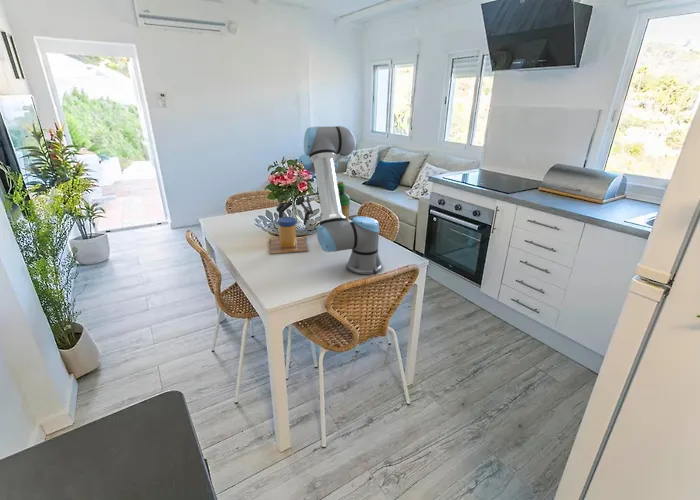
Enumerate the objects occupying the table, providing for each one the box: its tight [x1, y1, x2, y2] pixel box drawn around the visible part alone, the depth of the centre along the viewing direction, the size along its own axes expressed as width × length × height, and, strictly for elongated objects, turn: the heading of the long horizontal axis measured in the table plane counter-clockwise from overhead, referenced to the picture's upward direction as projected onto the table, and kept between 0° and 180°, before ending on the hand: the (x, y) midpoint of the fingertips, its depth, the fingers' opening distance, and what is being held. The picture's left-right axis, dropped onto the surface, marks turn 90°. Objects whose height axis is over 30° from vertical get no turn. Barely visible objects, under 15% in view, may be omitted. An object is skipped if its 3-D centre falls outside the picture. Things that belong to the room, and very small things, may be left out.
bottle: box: [337, 181, 351, 222], centre depth 198 cm, size 11×11×28 cm
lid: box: [277, 216, 297, 227], centre depth 176 cm, size 9×9×2 cm
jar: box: [278, 224, 297, 247], centre depth 179 cm, size 8×8×13 cm
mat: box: [270, 236, 308, 255], centre depth 181 cm, size 20×18×1 cm
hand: (292, 224), depth 186 cm, fingers open, 13 cm apart
